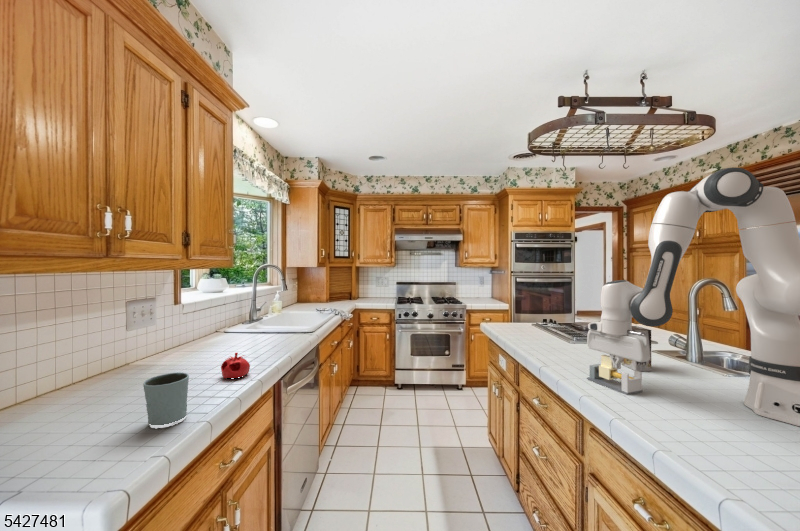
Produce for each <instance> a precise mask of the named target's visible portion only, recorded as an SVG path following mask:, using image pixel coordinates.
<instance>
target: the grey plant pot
mask: <svg viewBox="0 0 800 531" xmlns="http://www.w3.org/2000/svg"><path fill="white" fill-rule="evenodd" d="M189 379H190V374H189V373H187V372H170V373H169V372H168V373H163V374H160V375H156V376H153V377H150V378H148V379H146V380H145V381H144V382H143V384H142V386H143V392H144V399H145V402H146V405H145V407H146V412H147V419H148V420H147V422H148V423H149V424H151V425H164V424H169V423H172V422H175V421H178V420H180V419H182V418H184V417H185V416H186V415H187V414H188V412H187V410H188V408H187V407H188V403H187V402H188V393H189V391H188V390H189ZM148 423H147V424H148ZM149 424H148V425H149Z"/></svg>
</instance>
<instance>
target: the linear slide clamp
mask: <svg viewBox="0 0 800 531" xmlns="http://www.w3.org/2000/svg"><path fill="white" fill-rule="evenodd" d="M600 365H601V363H600V364H599V363H597V364H589V377H586V380H587V379H588V380H587V381H590V382H592V381H593V382H592V383H596V384H598V385H601V386H603V387H605V386H606V387H605V388H608V389H611V390H614V391H616V392H619V393H621V394H624V395H626V396H628V395H634V394H639V393H643V388H642V385H643V383H642V382H643V381H642V380H643V379H642V378H643V376H642V374H643V371H637V370H633V372H634V374H633V376H630V374H629V373H627V372H623V371H622V372H621V373H620V372H618V371H617V372H615V371H611V376H613V377H616V378H618V379H619V380H621V382H620V381H618V380H616V379H613V380H608V379H605V378H602V377H600V376H599V366H600Z"/></svg>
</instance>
